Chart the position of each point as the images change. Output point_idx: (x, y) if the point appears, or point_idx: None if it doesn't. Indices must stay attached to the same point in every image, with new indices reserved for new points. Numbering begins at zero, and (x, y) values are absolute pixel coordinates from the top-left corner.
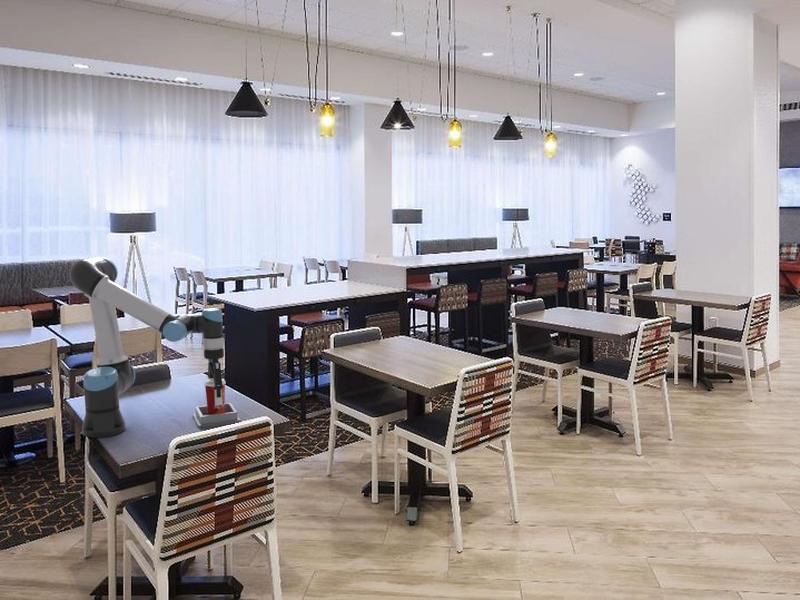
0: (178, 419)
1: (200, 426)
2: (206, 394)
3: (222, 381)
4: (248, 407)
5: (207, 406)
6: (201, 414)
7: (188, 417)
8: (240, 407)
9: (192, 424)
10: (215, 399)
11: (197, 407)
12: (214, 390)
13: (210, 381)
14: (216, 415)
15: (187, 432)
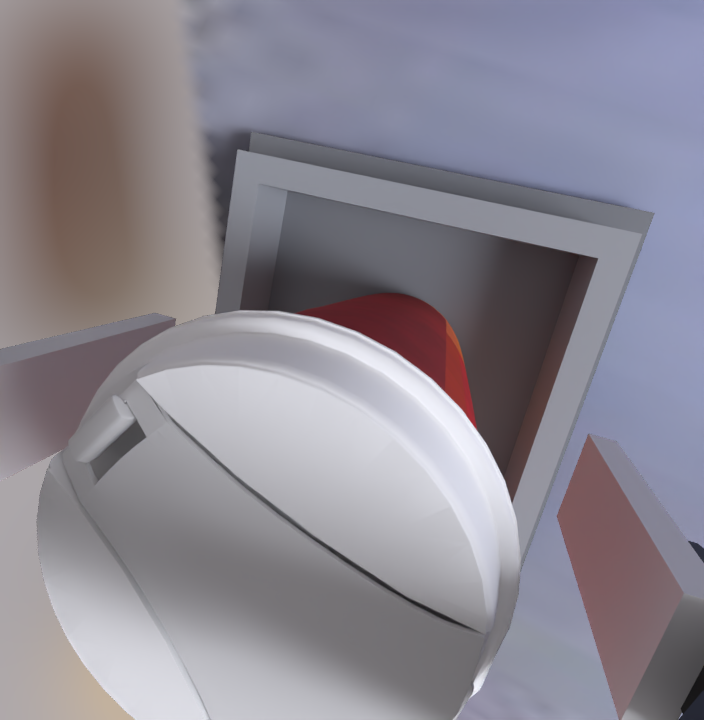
0: (645, 36)
1: (253, 151)
2: (340, 310)
3: (82, 650)
4: (521, 684)
5: (386, 298)
6: (307, 186)
7: (632, 157)
8: (569, 647)
9: (387, 120)
10: (99, 330)
11: (592, 244)
12: (7, 359)
13: (165, 454)
14: (218, 307)
15: (206, 7)
